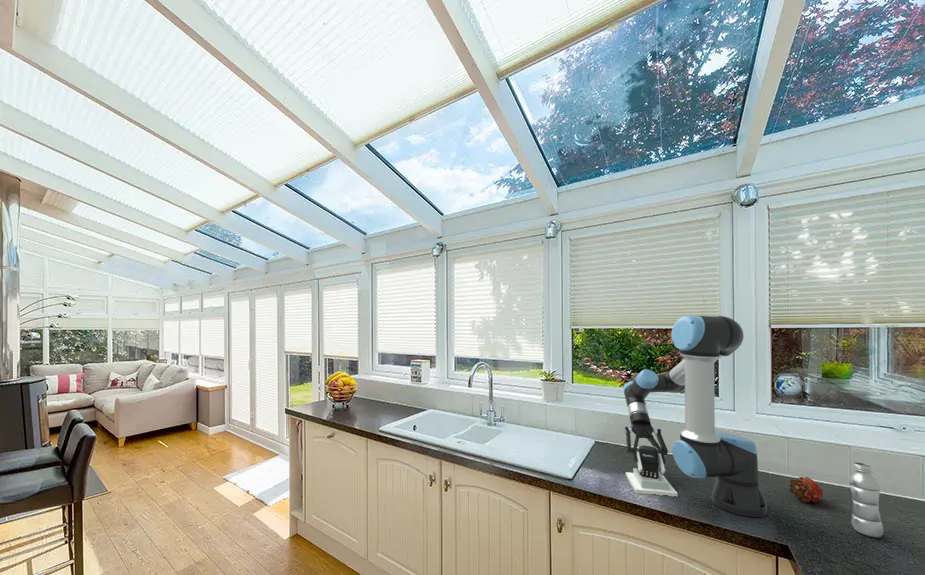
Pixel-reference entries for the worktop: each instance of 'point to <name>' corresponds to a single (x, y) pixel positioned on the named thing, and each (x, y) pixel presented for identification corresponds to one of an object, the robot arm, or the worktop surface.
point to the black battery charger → (649, 461)
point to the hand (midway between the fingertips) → (651, 471)
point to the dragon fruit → (806, 489)
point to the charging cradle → (650, 484)
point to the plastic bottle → (865, 501)
